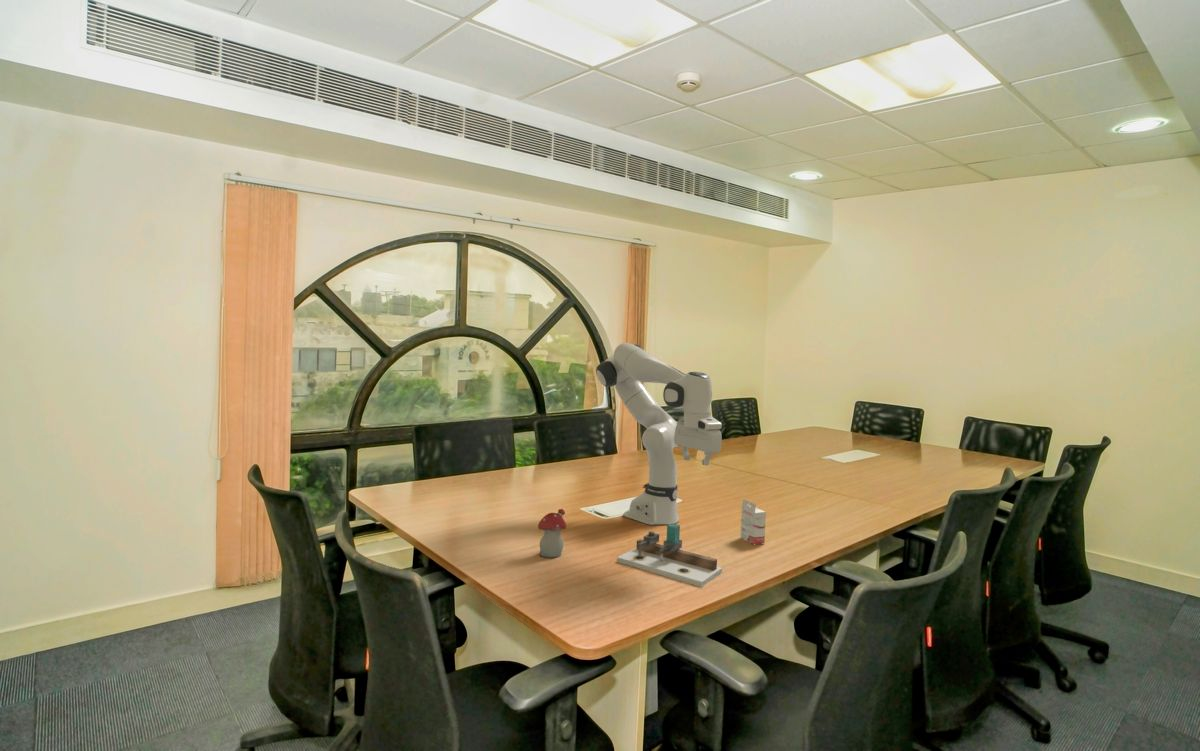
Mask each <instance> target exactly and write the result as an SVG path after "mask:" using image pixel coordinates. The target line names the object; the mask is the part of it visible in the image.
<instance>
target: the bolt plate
mask: <svg viewBox="0 0 1200 751" xmlns="http://www.w3.org/2000/svg"><path fill="white" fill-rule="evenodd" d="M636 548H637V547H635V548H632V549H631V550H629V551H627V552H625V553H623V554H620V555H618V556H617V557H616V563H620V564H624V565H626V566H631V567H634V568H637V569H640V570H643V571H647V572H651V573H654V574H658V575H660V576H663V577H667V578H671V579H674V580H677V581H681V582H684V583H688V584H691V585H695V586H697V587H701V588H702V587H704V586H706V585H707V584H708V583H710V582H711V581H713V580H714V579H716V576H717V577H718V576H719V575H721V574H722V573H723V567H720V566H717V569H716V570H714V571H713V570H709V569H705V568H702V567H698V566H694V565H691V564H687V563H683V562H680V561H676V560H673V559H669V558H665V557H663V561H660V556H658V555H654V554H651V553H647V552H644V551H641V555H638V554H639V550H636Z"/></svg>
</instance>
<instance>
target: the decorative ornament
mask: <svg viewBox="0 0 1200 751" xmlns="http://www.w3.org/2000/svg"><path fill="white" fill-rule="evenodd" d="M565 511H566V510H564V509H563V508H560V509H558V510H557V512H548V513H547V514H545V515H544V516H543V517H542V518H541V520H539V522H538V524H537V528H538V529H539V530H540V531H544V534H543V535H542V536H541V538H540V541H539V550H540V551H539V555H540V557H543V558H547V559H548V558H549V559H550V558H558V557H560V556H561V555H562V552H563V549H564V547H565V544H564V538H563V537H562V535H561V531H562V530H566V529H567V524H566V521H565V519H564V518H563V516H564V515H565V514H566V512H565Z"/></svg>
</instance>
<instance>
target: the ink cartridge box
mask: <svg viewBox="0 0 1200 751" xmlns="http://www.w3.org/2000/svg"><path fill="white" fill-rule="evenodd" d="M741 505H742V506H741V516H740V517H741V520H740V522H741V523H740V538H741V539H742V538H743V539H742V540H744V539H745V540H747V541H749V542H751V543H753V544H758V545H763V544H762V543H764V544H765V540H766V539H765V538H766V517H767V513H766V512H767V511H765V510H762V509H759V508H758V507H757V504H756V503H753V502H752V501H749V500H748V499H745V498H743V499H742V504H741ZM745 540H744V541H745ZM747 541H746V542H747ZM749 542H748V543H749ZM751 543H750V544H751ZM753 544H752V545H753Z"/></svg>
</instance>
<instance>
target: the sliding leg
mask: <svg viewBox="0 0 1200 751" xmlns="http://www.w3.org/2000/svg"><path fill="white" fill-rule="evenodd" d="M680 529H681V525H679V524H676V523H674V524H666V539H665V540H664V541H663V544H662V545H663V548H662V549H660V550H659V554H660V561H663V554H665V553H666V552H668V551H674V552H675V551H676V550H678V549H679V550H681V549H682V548H683V540H682V539H680V533H681V532H680V531H681V530H680Z"/></svg>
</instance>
